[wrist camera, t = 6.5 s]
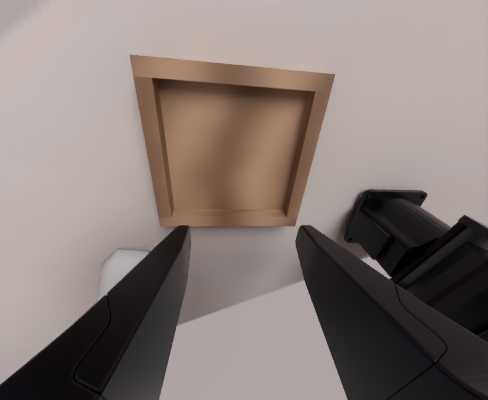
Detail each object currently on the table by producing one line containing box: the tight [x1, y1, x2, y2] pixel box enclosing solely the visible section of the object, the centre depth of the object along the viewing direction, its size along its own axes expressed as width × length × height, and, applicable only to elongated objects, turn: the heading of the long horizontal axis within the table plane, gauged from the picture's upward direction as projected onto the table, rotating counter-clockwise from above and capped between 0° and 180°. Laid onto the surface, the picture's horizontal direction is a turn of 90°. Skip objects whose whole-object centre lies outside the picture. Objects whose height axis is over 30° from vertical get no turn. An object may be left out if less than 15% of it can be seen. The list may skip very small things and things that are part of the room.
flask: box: [97, 249, 150, 302], centre depth 18 cm, size 7×7×10 cm
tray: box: [130, 55, 335, 227], centre depth 16 cm, size 12×12×2 cm
